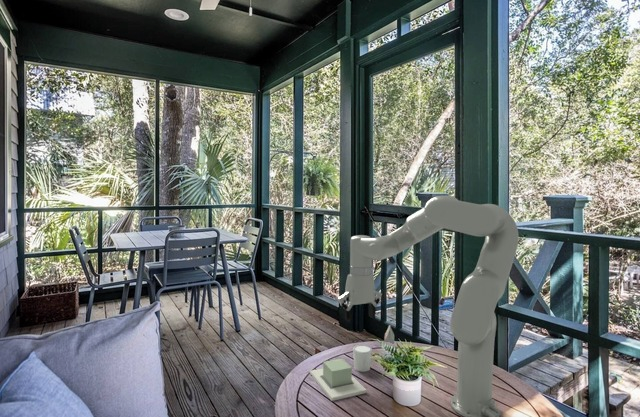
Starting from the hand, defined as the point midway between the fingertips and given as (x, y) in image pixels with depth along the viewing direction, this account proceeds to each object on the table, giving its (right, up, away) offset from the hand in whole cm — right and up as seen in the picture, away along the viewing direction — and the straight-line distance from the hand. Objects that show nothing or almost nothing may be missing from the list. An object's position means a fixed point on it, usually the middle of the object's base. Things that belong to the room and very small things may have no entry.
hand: (360, 319), depth 131 cm
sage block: (-8, -17, -8) cm, 21 cm away
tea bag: (+13, -18, +15) cm, 27 cm away
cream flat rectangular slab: (-9, -19, -8) cm, 22 cm away
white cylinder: (+1, -18, +2) cm, 18 cm away
